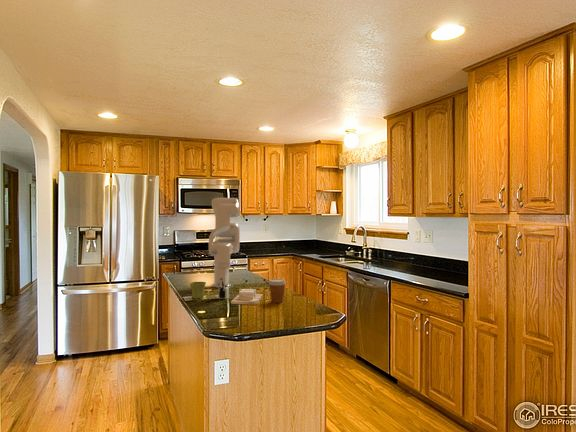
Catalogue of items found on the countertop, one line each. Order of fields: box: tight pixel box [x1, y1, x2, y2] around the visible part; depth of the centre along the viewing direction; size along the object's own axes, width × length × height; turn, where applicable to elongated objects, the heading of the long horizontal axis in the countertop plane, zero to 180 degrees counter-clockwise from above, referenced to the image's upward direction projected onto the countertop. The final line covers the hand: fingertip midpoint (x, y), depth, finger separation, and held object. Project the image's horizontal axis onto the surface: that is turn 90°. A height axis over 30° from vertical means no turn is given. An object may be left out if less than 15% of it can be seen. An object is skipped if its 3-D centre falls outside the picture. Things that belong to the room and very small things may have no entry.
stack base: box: [230, 288, 264, 306], centre depth 230 cm, size 20×14×6 cm
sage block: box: [217, 287, 230, 300], centre depth 236 cm, size 5×5×6 cm
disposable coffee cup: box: [268, 278, 287, 304], centre depth 227 cm, size 10×10×12 cm
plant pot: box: [189, 281, 207, 299], centre depth 236 cm, size 9×9×9 cm
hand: (223, 296), depth 236 cm, fingers closed on sage block, 5 cm apart
